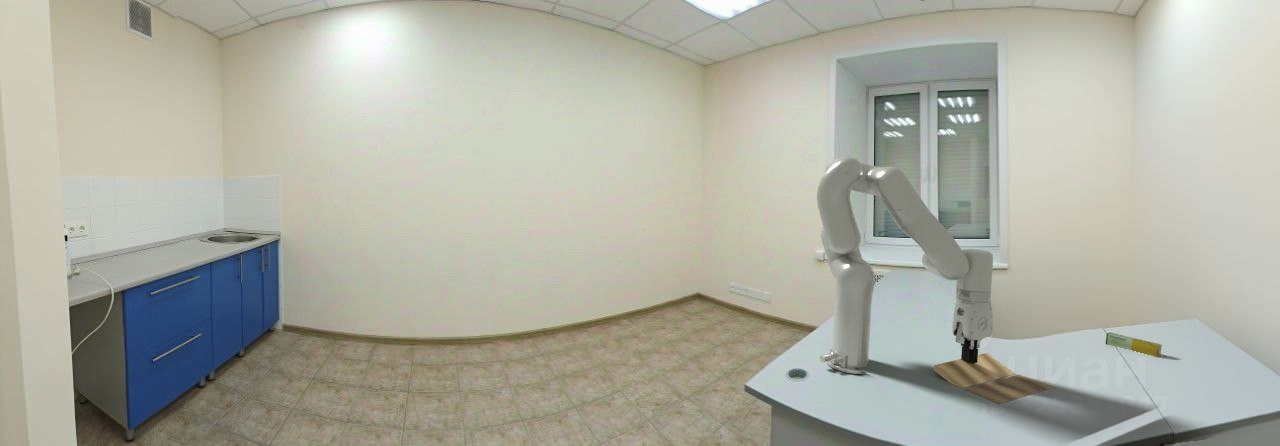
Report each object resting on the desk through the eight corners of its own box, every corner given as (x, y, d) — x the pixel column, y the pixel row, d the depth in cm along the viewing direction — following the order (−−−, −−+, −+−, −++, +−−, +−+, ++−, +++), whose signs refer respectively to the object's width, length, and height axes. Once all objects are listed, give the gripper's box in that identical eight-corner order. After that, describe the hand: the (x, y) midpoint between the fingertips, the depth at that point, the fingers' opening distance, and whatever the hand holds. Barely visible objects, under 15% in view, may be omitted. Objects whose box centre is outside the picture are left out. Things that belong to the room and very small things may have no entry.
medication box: (1104, 344, 148) (1105, 333, 147) (1108, 343, 149) (1109, 331, 148) (1157, 358, 137) (1159, 345, 136) (1161, 356, 138) (1163, 344, 137)
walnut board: (998, 410, 105) (999, 403, 104) (963, 394, 112) (963, 389, 112) (1054, 392, 113) (1055, 386, 113) (1018, 379, 121) (1018, 374, 121)
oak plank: (960, 391, 113) (963, 387, 112) (932, 368, 119) (935, 364, 119) (1013, 377, 121) (1015, 373, 121) (984, 356, 128) (986, 353, 127)
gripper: (970, 302, 114) (965, 371, 115) (1005, 295, 119) (1001, 362, 121) (940, 295, 121) (937, 361, 122) (975, 289, 126) (972, 352, 128)
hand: (969, 361), depth 122 cm, fingers closed
